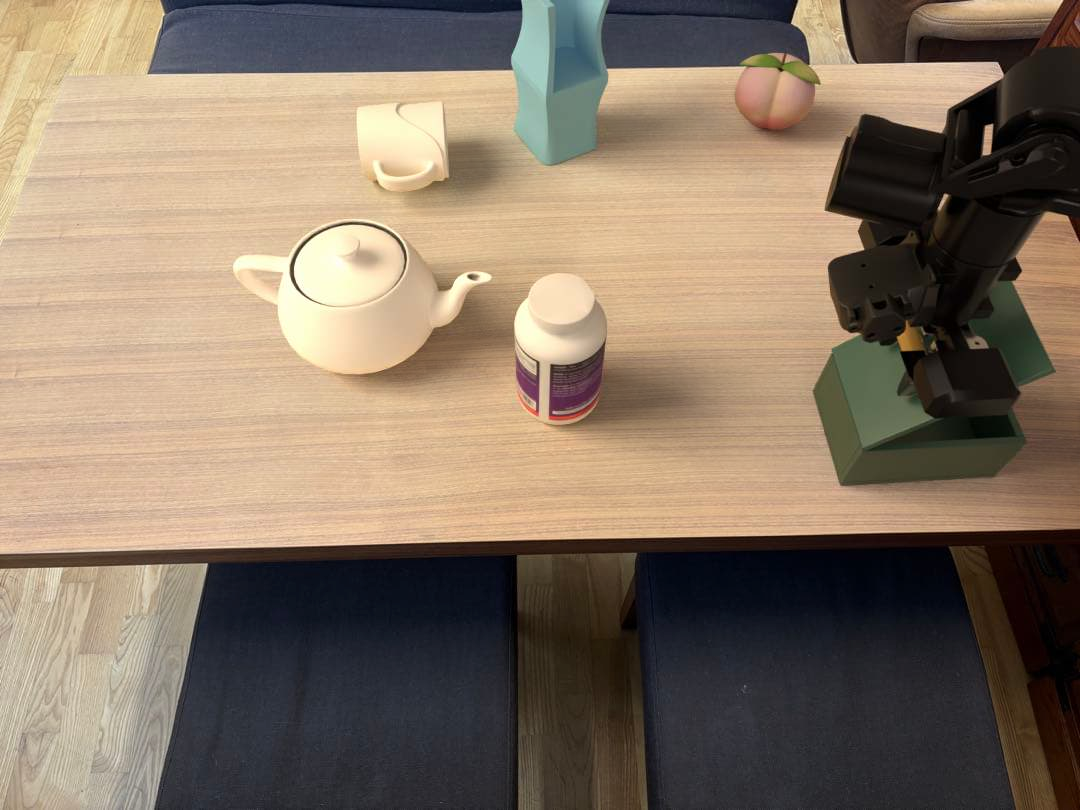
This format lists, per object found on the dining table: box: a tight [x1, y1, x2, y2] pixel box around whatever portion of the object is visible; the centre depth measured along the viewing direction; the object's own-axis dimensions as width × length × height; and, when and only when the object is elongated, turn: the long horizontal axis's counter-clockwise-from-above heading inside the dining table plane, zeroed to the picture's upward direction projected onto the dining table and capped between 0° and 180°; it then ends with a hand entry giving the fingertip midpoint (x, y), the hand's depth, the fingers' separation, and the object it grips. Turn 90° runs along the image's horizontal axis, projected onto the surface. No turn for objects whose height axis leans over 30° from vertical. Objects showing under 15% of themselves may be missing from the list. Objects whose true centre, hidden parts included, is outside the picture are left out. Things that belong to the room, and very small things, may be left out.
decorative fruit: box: [734, 52, 822, 131], centre depth 100 cm, size 9×8×10 cm
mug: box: [356, 100, 450, 193], centre depth 95 cm, size 12×9×8 cm
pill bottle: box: [513, 272, 608, 426], centre depth 76 cm, size 8×8×14 cm
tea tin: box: [812, 352, 1028, 486], centre depth 77 cm, size 14×10×6 cm
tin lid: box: [830, 281, 1057, 450], centre depth 69 cm, size 15×10×4 cm
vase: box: [510, 0, 611, 166], centre depth 94 cm, size 8×8×20 cm
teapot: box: [232, 218, 493, 375], centre depth 81 cm, size 25×16×12 cm, turn 82°
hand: (893, 368), depth 71 cm, fingers closed on tin lid, 5 cm apart
